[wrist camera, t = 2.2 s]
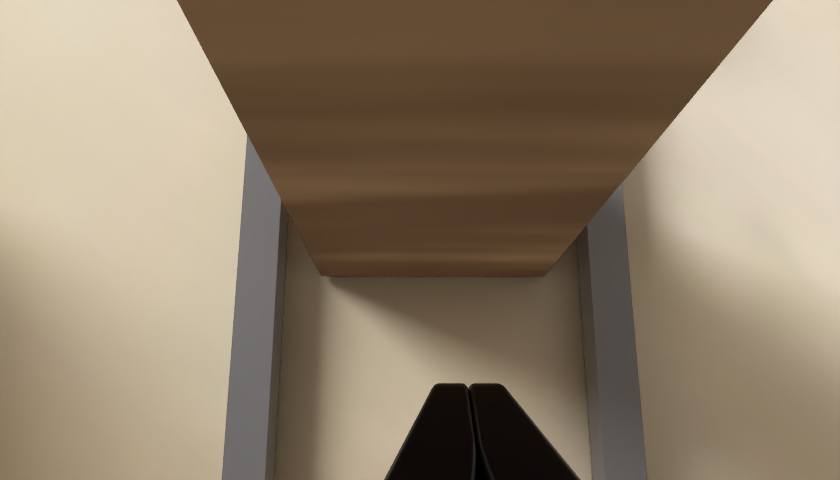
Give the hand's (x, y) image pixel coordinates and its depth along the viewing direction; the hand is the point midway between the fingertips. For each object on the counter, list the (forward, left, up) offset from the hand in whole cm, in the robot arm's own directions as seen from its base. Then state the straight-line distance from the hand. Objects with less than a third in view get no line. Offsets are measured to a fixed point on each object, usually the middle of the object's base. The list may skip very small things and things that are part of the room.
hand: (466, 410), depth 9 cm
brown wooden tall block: (+5, 0, -9) cm, 11 cm away
